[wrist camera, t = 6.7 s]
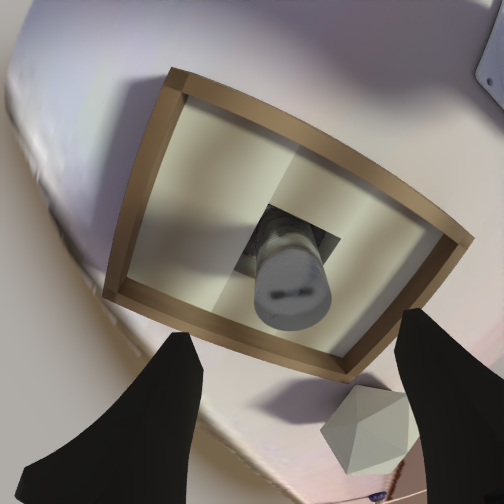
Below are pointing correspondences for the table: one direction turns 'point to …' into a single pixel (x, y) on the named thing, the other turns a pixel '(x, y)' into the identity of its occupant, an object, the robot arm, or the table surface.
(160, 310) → the peg box
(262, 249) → the peg
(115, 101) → the table surface
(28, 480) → the robot arm
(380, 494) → the toy lamp
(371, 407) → the die
